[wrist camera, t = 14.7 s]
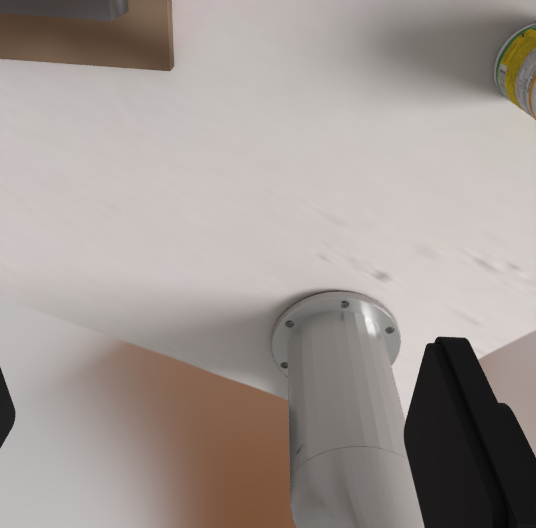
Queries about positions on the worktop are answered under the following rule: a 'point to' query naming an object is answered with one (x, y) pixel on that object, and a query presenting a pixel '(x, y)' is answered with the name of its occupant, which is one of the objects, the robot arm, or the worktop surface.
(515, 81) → the supplement bottle
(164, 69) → the socket holder
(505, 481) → the robot arm
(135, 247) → the worktop surface
